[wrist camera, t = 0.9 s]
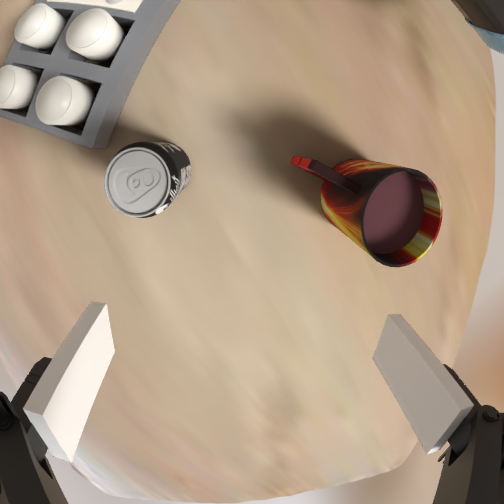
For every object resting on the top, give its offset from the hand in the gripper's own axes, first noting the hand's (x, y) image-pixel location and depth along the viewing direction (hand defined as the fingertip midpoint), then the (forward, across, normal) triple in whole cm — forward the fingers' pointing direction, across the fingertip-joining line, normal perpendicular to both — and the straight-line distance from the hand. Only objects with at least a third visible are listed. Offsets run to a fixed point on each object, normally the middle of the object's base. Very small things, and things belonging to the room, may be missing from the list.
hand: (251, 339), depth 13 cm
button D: (+22, -28, +16) cm, 39 cm away
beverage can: (+25, -9, +4) cm, 27 cm away
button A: (+22, -17, +20) cm, 34 cm away
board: (+25, -21, +22) cm, 39 cm away
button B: (+22, -20, +13) cm, 32 cm away
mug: (+25, +13, +3) cm, 28 cm away
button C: (+22, -25, +23) cm, 41 cm away
